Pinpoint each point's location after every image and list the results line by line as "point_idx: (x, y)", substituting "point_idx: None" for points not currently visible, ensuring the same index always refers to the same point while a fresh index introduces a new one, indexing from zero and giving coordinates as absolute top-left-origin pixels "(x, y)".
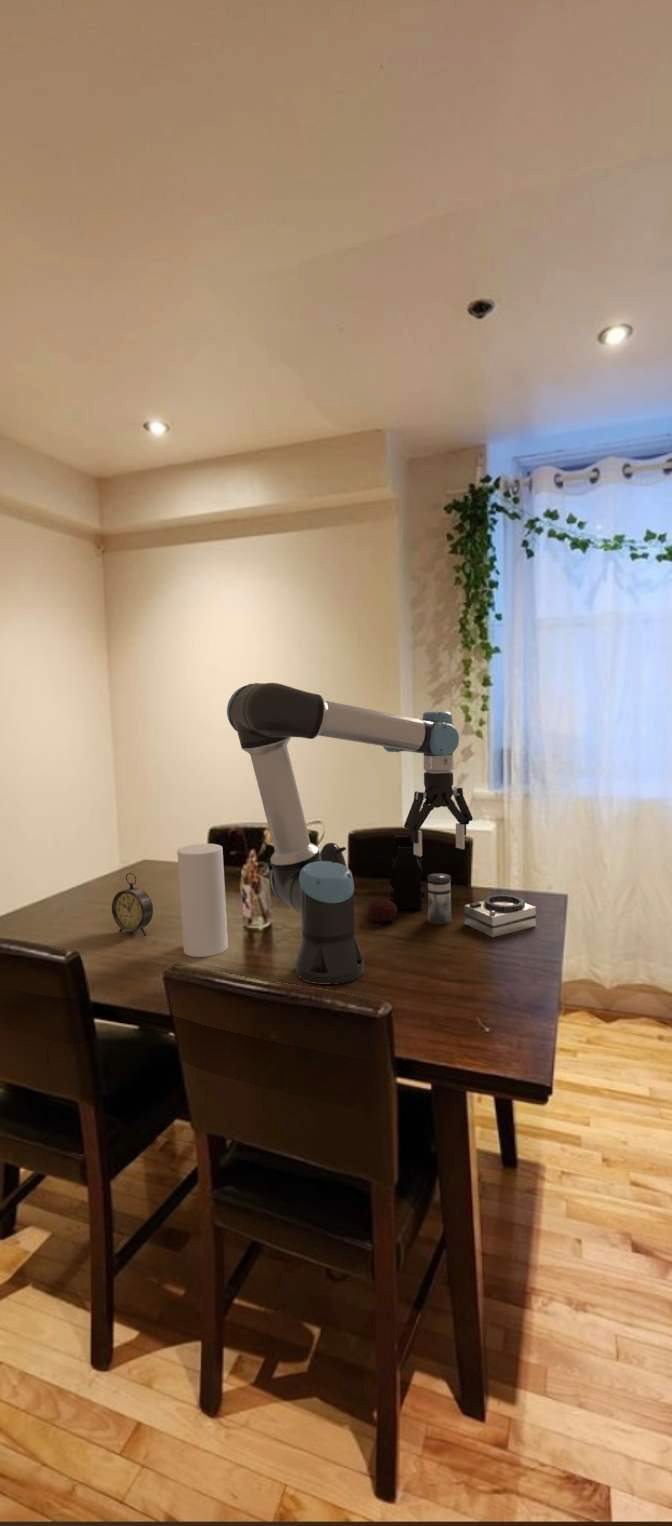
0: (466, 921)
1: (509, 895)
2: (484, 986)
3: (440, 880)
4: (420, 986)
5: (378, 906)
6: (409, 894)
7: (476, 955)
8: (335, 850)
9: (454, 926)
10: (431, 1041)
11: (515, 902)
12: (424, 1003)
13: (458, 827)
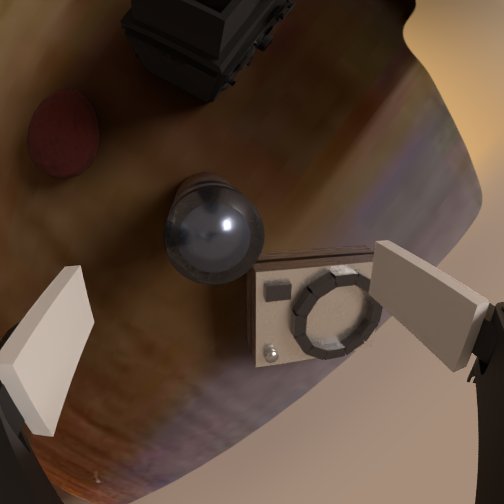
0: None
1: None
2: (130, 446)
3: (193, 280)
4: None
5: (34, 159)
6: (179, 81)
7: (168, 388)
8: None
9: None
10: (48, 470)
11: (366, 309)
12: (51, 439)
13: (451, 322)
